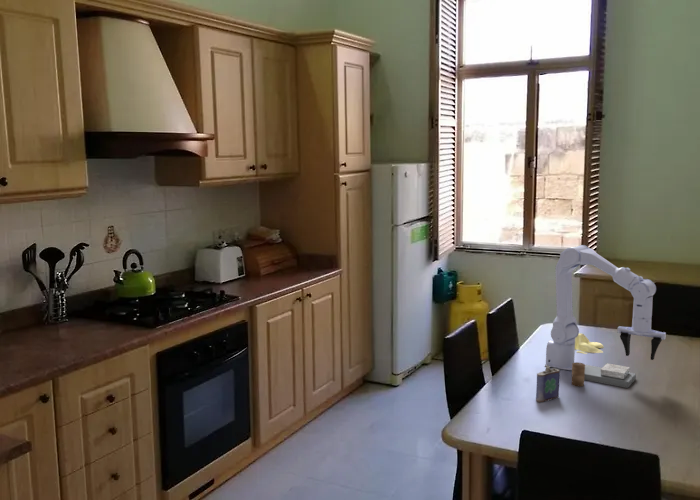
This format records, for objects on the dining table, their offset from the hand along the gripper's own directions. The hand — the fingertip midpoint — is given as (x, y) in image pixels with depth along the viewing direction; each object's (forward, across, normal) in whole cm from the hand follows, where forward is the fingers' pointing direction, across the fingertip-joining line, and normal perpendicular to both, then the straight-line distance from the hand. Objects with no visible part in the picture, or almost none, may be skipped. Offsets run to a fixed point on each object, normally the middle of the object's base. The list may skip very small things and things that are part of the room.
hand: (639, 357), depth 221 cm
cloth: (+10, -27, +31) cm, 43 cm away
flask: (+10, -21, -29) cm, 37 cm away
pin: (+10, -17, -11) cm, 22 cm away
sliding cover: (+7, -8, 0) cm, 10 cm away
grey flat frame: (+9, -11, 0) cm, 15 cm away
